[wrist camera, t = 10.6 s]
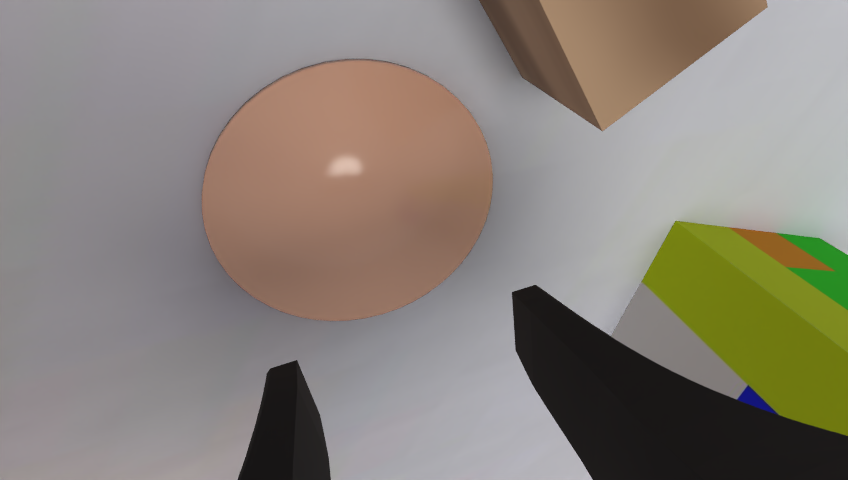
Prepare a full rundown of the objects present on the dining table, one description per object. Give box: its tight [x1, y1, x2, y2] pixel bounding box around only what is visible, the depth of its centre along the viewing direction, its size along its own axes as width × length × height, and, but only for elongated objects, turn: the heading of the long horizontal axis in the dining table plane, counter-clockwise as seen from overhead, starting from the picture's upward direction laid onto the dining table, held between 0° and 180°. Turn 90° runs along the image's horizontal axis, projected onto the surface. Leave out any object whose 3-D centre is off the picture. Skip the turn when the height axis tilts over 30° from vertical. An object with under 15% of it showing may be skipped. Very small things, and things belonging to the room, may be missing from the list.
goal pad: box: [202, 59, 493, 321], centre depth 19 cm, size 10×10×1 cm
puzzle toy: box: [611, 221, 848, 436], centre depth 24 cm, size 10×10×10 cm
